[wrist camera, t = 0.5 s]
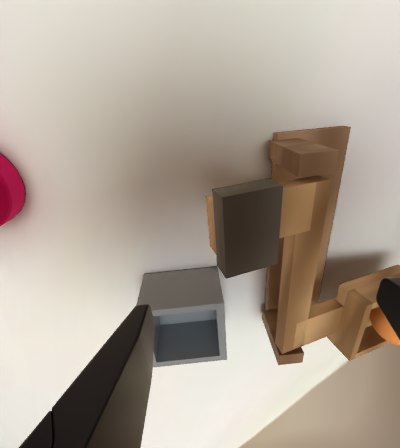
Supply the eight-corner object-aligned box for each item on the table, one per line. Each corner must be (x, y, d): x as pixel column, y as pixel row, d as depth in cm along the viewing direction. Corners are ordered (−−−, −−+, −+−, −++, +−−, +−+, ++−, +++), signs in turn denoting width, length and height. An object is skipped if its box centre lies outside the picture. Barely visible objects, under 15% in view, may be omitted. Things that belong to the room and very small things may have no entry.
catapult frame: (343, 125, 17) (409, 135, 12) (311, 309, 25) (342, 360, 20) (266, 133, 17) (300, 146, 12) (259, 315, 25) (278, 367, 20)
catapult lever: (438, 140, 16) (491, 145, 14) (377, 314, 23) (405, 336, 21) (205, 183, 12) (226, 200, 10) (220, 376, 19) (234, 411, 17)
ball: (390, 283, 20) (443, 309, 18) (379, 312, 22) (427, 341, 19) (366, 300, 19) (420, 332, 16) (357, 331, 21) (404, 364, 18)
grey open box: (216, 266, 22) (224, 303, 18) (220, 318, 25) (227, 359, 21) (144, 273, 22) (134, 312, 18) (156, 324, 25) (150, 367, 21)
